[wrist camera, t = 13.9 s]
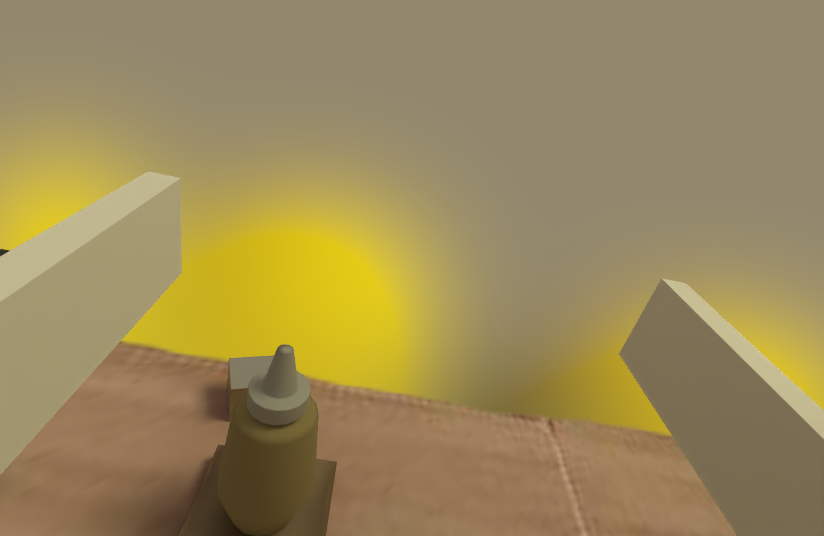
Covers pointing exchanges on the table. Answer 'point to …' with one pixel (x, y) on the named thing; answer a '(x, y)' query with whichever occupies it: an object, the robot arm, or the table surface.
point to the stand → (306, 532)
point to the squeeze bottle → (270, 449)
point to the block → (243, 377)
